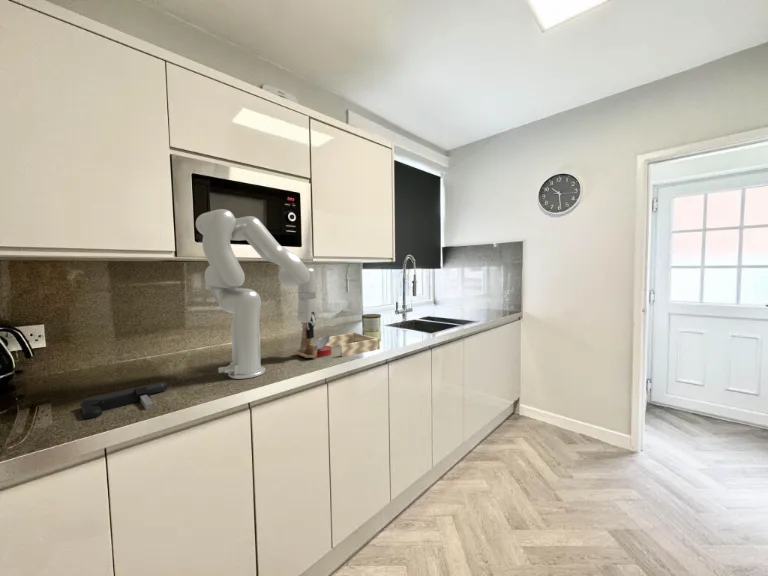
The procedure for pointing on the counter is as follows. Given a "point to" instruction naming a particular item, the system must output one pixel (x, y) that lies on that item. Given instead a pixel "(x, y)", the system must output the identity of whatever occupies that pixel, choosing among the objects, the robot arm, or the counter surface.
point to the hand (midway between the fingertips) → (308, 337)
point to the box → (354, 343)
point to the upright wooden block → (306, 345)
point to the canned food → (323, 347)
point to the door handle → (120, 399)
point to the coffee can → (371, 325)
